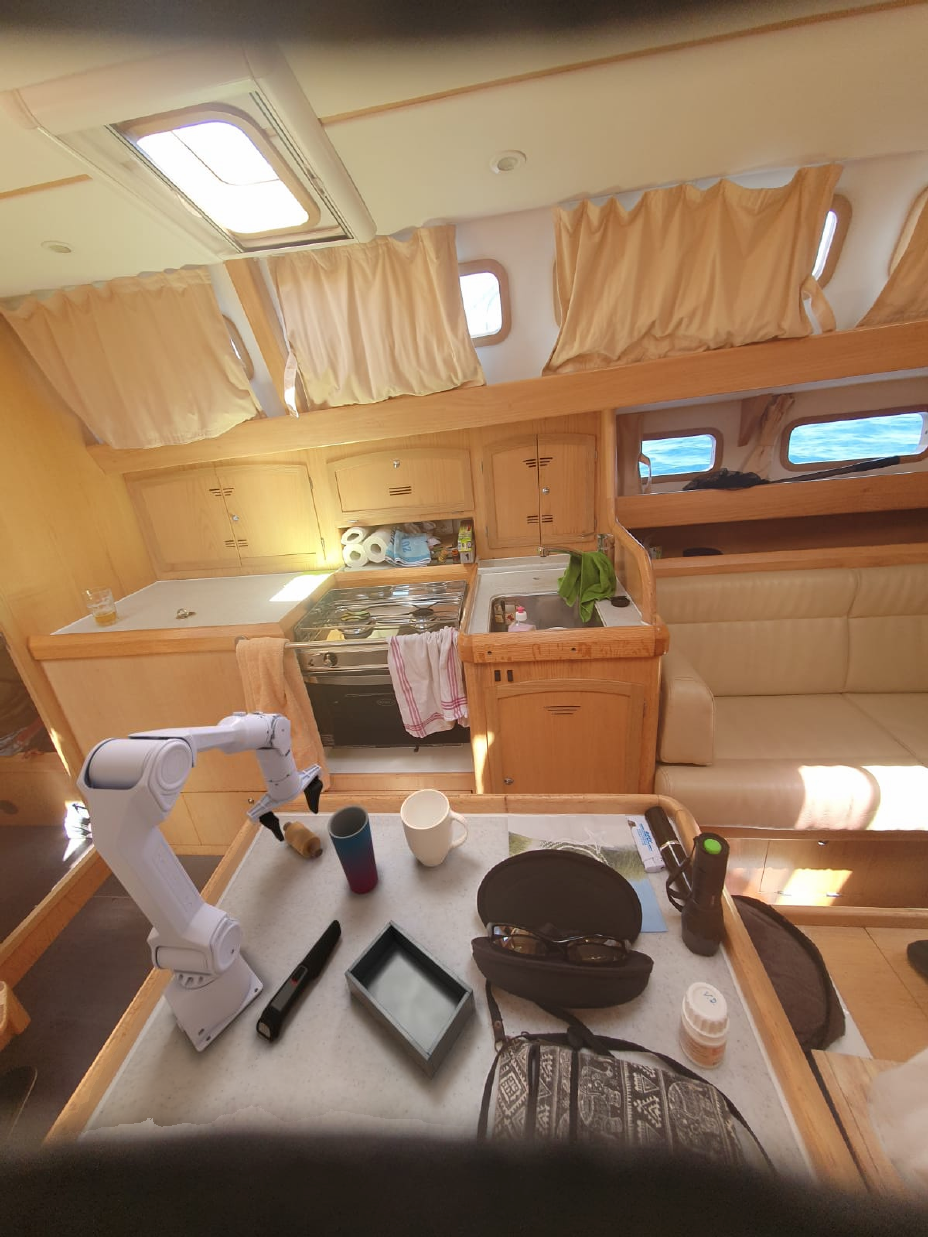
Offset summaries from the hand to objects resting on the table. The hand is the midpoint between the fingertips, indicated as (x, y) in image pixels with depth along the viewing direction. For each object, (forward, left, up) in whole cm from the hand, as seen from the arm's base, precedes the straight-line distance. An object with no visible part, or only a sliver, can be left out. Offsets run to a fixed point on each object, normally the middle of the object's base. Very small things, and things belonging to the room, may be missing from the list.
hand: (297, 824), depth 87 cm
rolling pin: (0, 0, -6) cm, 6 cm away
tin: (-6, -36, -6) cm, 37 cm away
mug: (+14, -24, -6) cm, 28 cm away
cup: (+2, -16, -6) cm, 17 cm away
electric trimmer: (-14, -21, -6) cm, 26 cm away
